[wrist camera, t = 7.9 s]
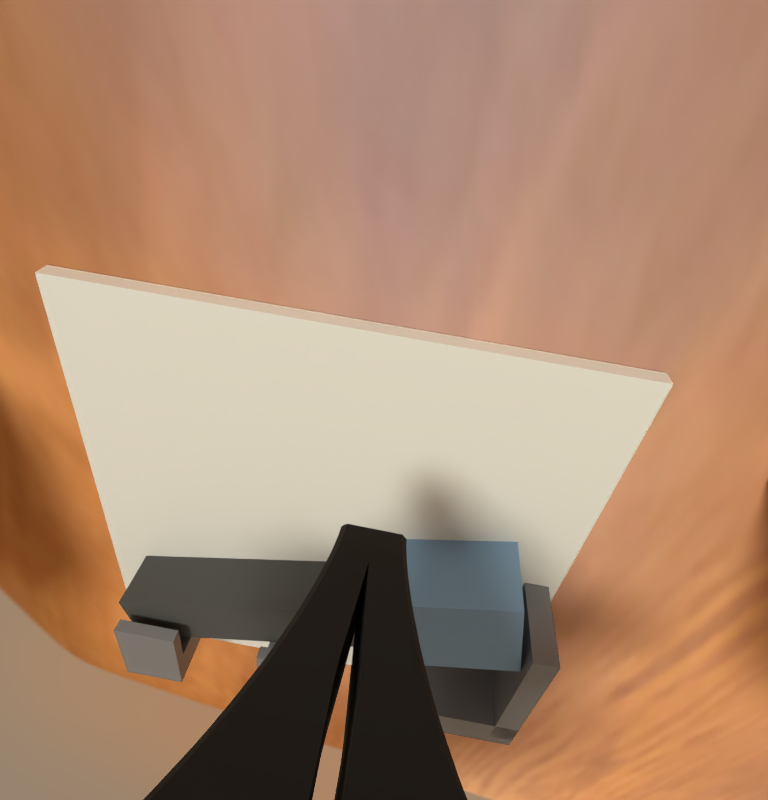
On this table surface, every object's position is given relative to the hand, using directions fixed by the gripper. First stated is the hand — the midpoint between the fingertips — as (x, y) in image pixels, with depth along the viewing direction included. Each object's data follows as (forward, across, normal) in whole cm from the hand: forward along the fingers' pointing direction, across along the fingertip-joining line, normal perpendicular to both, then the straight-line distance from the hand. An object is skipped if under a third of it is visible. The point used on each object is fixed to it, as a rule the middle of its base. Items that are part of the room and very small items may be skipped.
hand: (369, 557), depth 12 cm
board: (+7, +2, +8) cm, 11 cm away
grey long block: (+7, +2, +10) cm, 12 cm away
